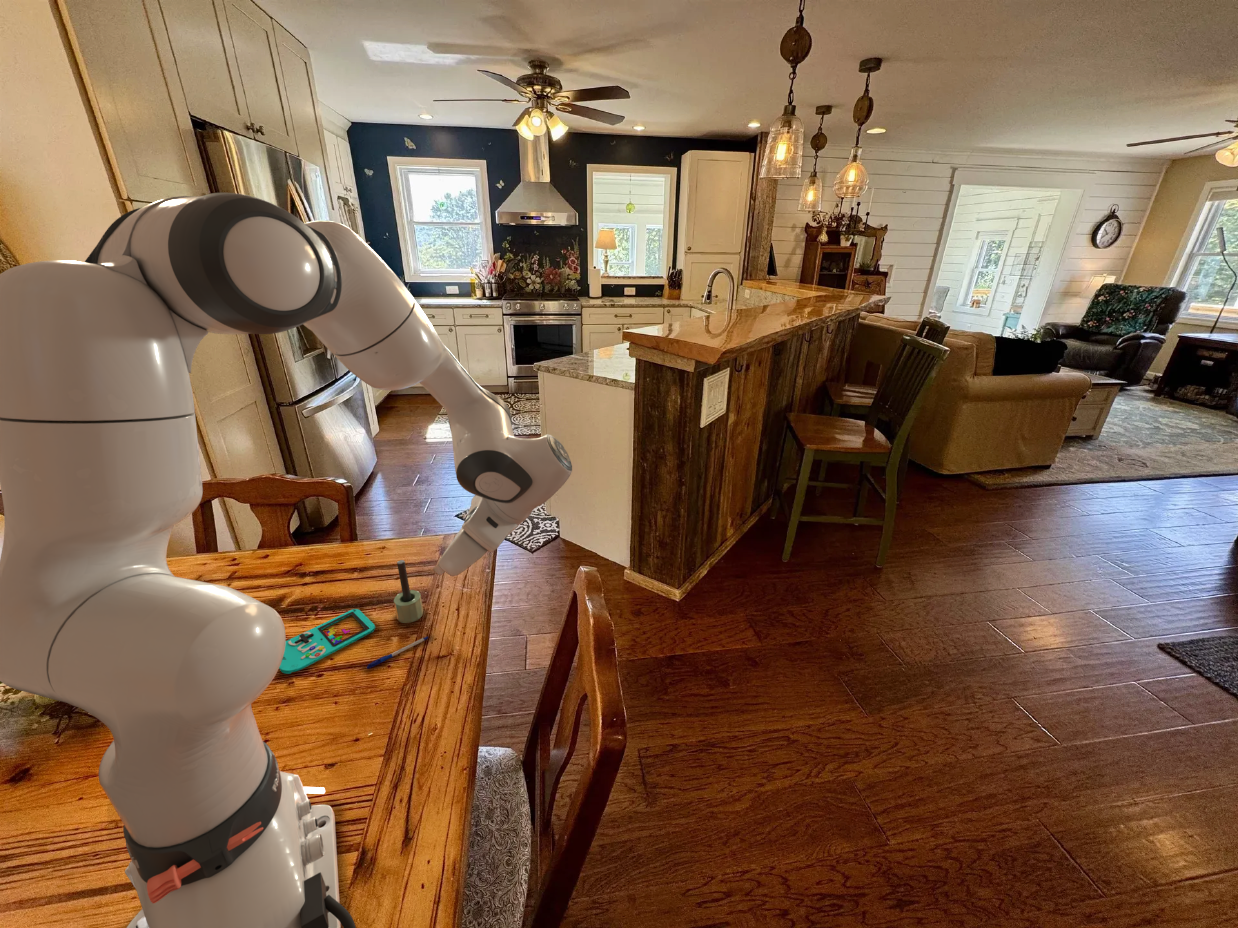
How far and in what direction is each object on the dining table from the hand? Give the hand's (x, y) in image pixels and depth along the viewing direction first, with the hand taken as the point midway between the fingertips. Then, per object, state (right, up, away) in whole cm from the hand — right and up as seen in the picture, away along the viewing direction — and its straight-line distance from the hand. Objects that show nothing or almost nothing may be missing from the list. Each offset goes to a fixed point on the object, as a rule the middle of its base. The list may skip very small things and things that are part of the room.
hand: (448, 554), depth 88 cm
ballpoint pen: (-8, -17, -3) cm, 19 cm away
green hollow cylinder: (-9, -13, +6) cm, 17 cm away
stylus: (-9, -13, +6) cm, 17 cm away
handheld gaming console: (-22, -16, 0) cm, 27 cm away
